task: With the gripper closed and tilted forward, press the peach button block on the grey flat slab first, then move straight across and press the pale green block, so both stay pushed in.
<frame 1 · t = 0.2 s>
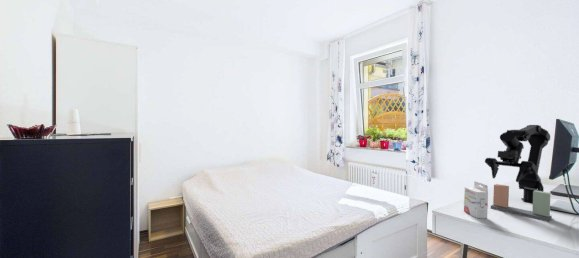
hand: (504, 179, 118), 15 cm above the table, tool tilted 30°, fingers open, 9 cm apart
peach button block: (501, 195, 121), point 6 cm above the table, slide at 0.0 cm
pale green block: (541, 202, 110), point 6 cm above the table, slide at 0.0 cm
grey flat slab: (520, 212, 116), on the table
ink cartridge box: (475, 215, 111), on the table
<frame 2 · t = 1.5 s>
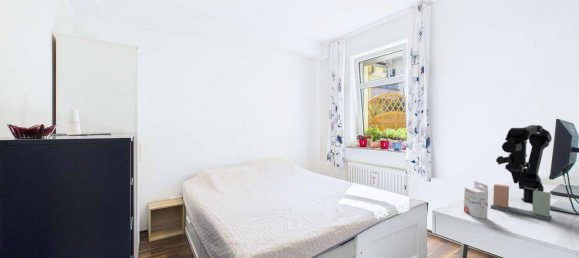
hand: (517, 182, 126), 12 cm above the table, tool pointing down, fingers open, 7 cm apart
nothing on the table moved.
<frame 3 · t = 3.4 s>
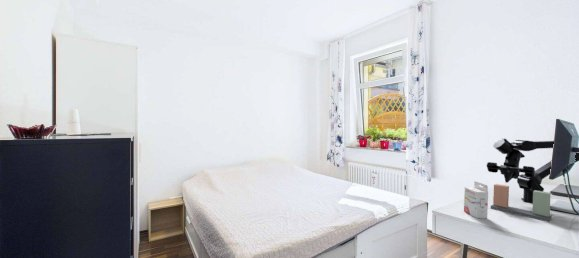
hand: (506, 182, 126), 12 cm above the table, tool tilted 45°, fingers closed
nothing on the table moved.
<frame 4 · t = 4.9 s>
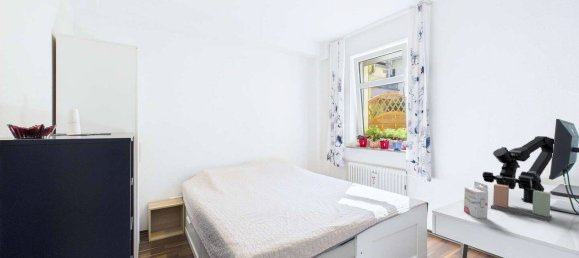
hand: (502, 192, 122), 7 cm above the table, tool tilted 45°, fingers closed, pressing on peach button block
peach button block: (501, 195, 121), point 6 cm above the table, slide at 0.1 cm, touching gripper
everything else where it was.
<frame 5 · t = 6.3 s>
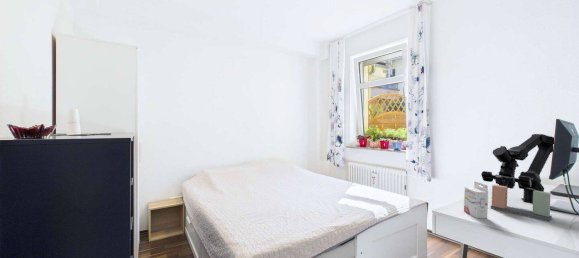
hand: (501, 192, 121), 8 cm above the table, tool tilted 45°, fingers closed
peach button block: (499, 196, 119), point 6 cm above the table, slide at 2.6 cm
everything else where it was.
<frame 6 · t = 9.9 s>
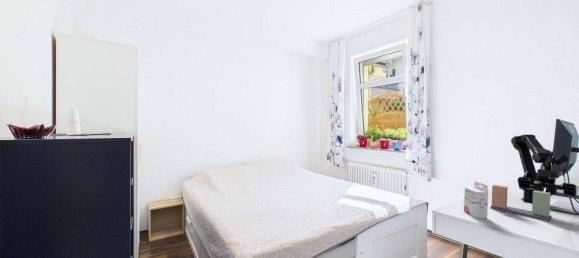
hand: (542, 200, 111), 7 cm above the table, tool tilted 45°, fingers closed, pressing on pale green block
pale green block: (541, 203, 109), point 6 cm above the table, slide at 0.4 cm, touching gripper
everything else where it was.
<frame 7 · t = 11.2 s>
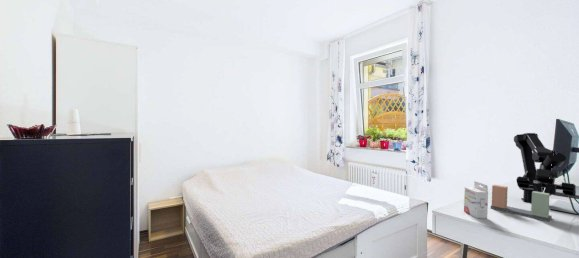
hand: (541, 200, 110), 8 cm above the table, tool tilted 45°, fingers closed
pale green block: (540, 204, 108), point 6 cm above the table, slide at 2.6 cm
everything else where it was.
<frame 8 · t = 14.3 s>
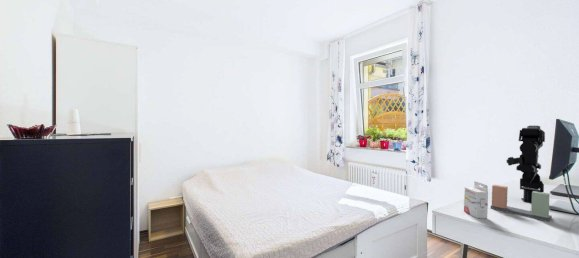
hand: (528, 183, 123), 12 cm above the table, tool pointing down, fingers closed
nothing on the table moved.
at the end: peach button block slide at 2.6 cm; pale green block slide at 2.6 cm; ink cartridge box moved 0.2 cm from its start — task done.
